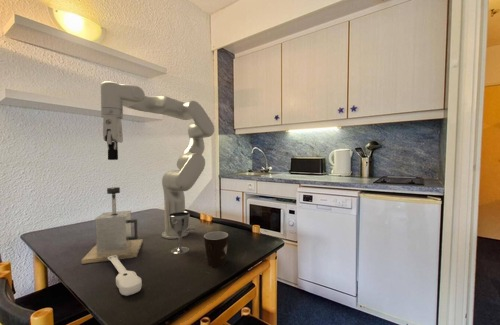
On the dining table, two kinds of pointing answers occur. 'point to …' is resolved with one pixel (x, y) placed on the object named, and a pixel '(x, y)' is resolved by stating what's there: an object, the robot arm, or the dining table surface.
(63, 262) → the dining table surface
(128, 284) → the white toy guitar
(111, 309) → the dining table surface
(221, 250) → the coffee mug
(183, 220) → the wine glass
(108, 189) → the plunger
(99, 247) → the press
